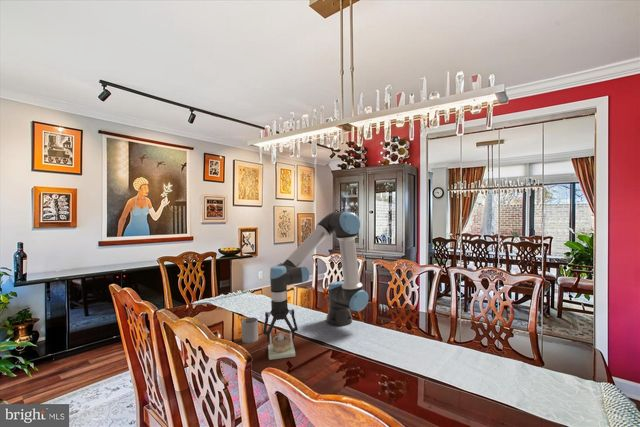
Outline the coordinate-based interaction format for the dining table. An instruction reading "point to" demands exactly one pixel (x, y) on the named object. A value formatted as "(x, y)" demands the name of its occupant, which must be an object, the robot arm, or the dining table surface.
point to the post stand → (285, 354)
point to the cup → (249, 330)
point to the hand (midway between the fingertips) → (281, 347)
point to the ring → (281, 344)
